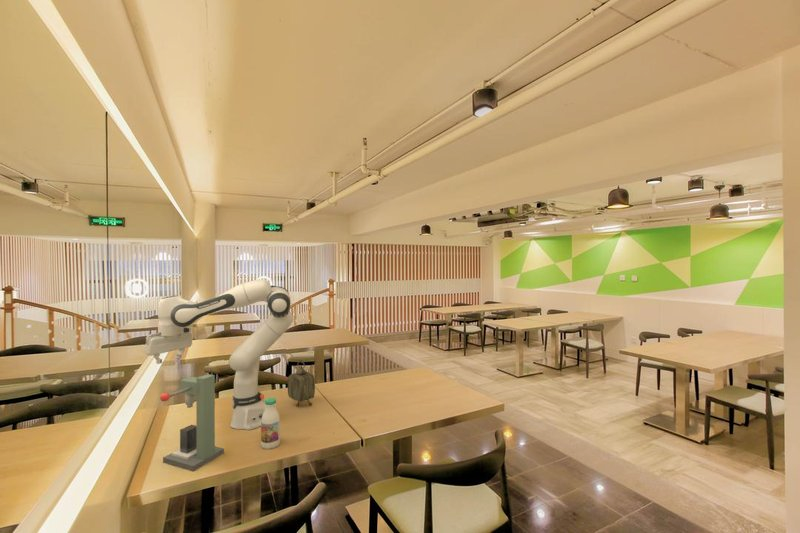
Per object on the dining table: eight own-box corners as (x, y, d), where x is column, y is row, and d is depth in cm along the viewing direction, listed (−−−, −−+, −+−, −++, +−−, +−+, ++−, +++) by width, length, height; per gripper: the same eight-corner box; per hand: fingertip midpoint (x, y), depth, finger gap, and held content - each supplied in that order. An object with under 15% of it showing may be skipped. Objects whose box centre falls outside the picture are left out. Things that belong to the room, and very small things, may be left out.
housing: (191, 445, 146) (191, 424, 146) (198, 447, 145) (198, 426, 145) (180, 451, 142) (180, 429, 142) (186, 453, 140) (186, 431, 140)
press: (143, 472, 132) (143, 383, 132) (195, 445, 152) (194, 368, 152) (174, 482, 126) (174, 388, 126) (224, 453, 146) (223, 372, 146)
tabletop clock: (315, 405, 196) (314, 361, 196) (301, 410, 189) (300, 364, 189) (300, 399, 205) (300, 357, 205) (286, 404, 198) (286, 360, 198)
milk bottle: (264, 441, 156) (264, 396, 156) (281, 440, 156) (281, 395, 156) (258, 450, 148) (258, 403, 148) (277, 449, 149) (277, 402, 149)
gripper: (150, 335, 150) (150, 367, 149) (194, 327, 169) (194, 356, 168) (141, 334, 152) (141, 366, 152) (185, 327, 171) (185, 355, 171)
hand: (169, 360), depth 160 cm, fingers open, 8 cm apart
